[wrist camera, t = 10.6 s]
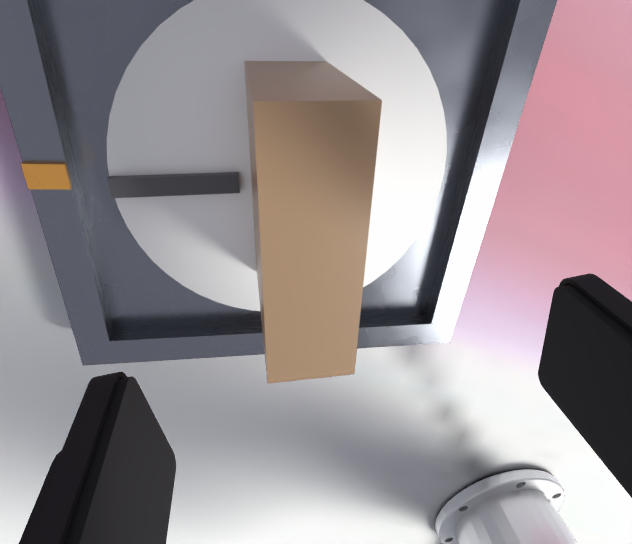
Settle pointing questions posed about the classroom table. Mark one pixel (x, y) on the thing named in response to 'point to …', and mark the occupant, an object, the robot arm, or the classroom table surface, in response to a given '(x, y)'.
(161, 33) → the dial
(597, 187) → the classroom table surface
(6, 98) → the dial housing
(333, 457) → the classroom table surface
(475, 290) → the classroom table surface
